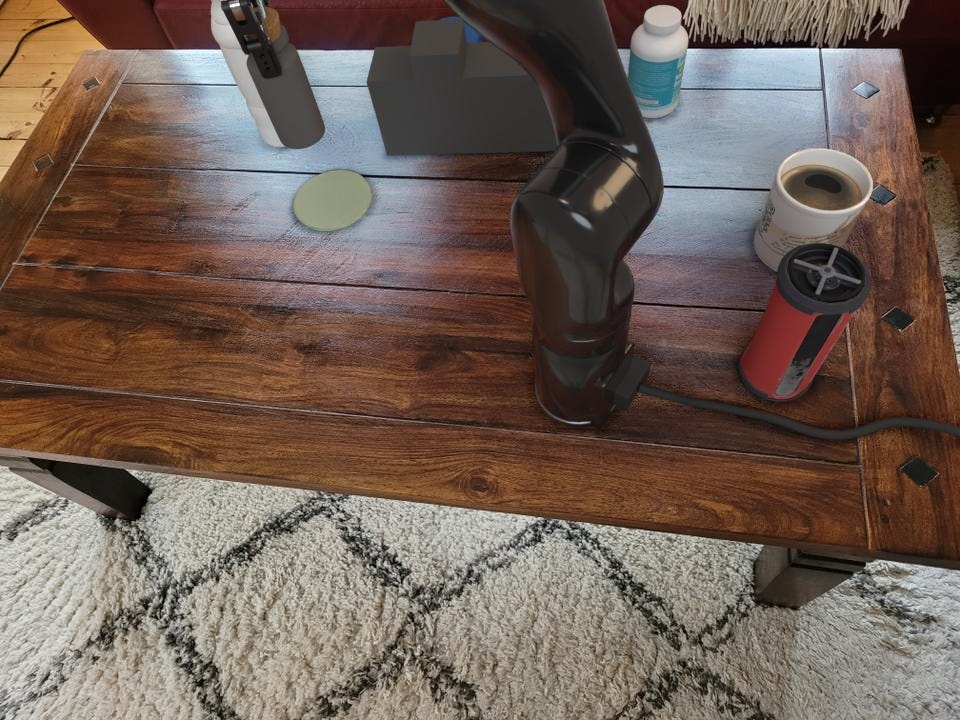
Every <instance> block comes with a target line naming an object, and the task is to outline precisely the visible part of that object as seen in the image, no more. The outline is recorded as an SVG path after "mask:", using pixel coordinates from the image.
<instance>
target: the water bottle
mask: <svg viewBox="0 0 960 720" xmlns="http://www.w3.org/2000/svg"><path fill="white" fill-rule="evenodd" d="M221 1H223V0H210V2H211V7H210V15H211V17H210V29H211V34H212V36H213V38H214V41H215V42H216V43H217V44H218V45H219V49H220V51H221V53H222V57H223V58H224V61H225V63H226V66H227V67H228V70H229V72H230V75H231V76H232V78H233V80H234V82H235V84H236V86H237V88H238V90H239V91H240V94H241V95H242V97H243V99H244V100H245V103H246V107H247V109H248V112H249V114H250V115H251V118H252V119H253V120H254V122H255V125H256V126H255V127H256V128H257V131H258V133H259V136H260V137H261V140H262V141H263V142H264V143H265V144H266V145H268V146H270V147H275V148H287V147H286V146H284V145H283V144H282V143H281V141H280V139H279V137H278V135H277V133H276V131H275V129H274V127H273V124H272V122H271V120H270V118H269V115H268V113H267V111H266V109H265V107H264V104H263V102H262V100H261V98H260V95H259V93H258V91H257V89H256V86H255V84H254V82H253V80H252V77H251V75H250V73H249V71H248V68H247V64H246V63H247V58H248V56H249V55H245V54H244V52H243V51H242V49H241V46H240V44H239V42H238V40H237V38H236V36H235V34H234V32H233V30H232V28H231V26H230V24H229V22H228V20H227V18H226V16H225V14H224V12H223V11H222V9H221Z"/></svg>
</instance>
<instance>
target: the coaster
mask: <svg viewBox="0 0 960 720" xmlns="http://www.w3.org/2000/svg"><path fill="white" fill-rule="evenodd" d="M372 200H373V191H372V188H371V185H370V184H369V182H368V180H367V179H366V178H365V177H364V176H363V175H362V174H359V173H357V172H354V171H351V170H348V169H347V170H346V169H334V170H329V171H325V172H322V173H319V174H317V175H315V176H313V177H311V178H310V179H309V180H307V181H305V183H304V184H302V186H301V187H299V189H298V190H297V192H296V194H295V196H294V198H293V205H292V207H293V212H294V214H295V217H296V218H297V220H298V221H299V223H301V224H302V225H303V226H304V227H306V228H308V229H311V230H314V231H319V232H332V231H337V230H341V229H344V228H347V227H349V226H351V225H353V224H354V223H356V222H357V221H358V220H360V219H361V218H362V217H363V216H364V215H365V214H366V212H367V211H368V210H369V208H370V206H371V203H372Z"/></svg>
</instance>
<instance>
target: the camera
mask: <svg viewBox="0 0 960 720" xmlns="http://www.w3.org/2000/svg"><path fill="white" fill-rule="evenodd" d="M371 58H372V59H371V62H370V66H369V70H368V74H367V77H366V81H365V82H366V85H367V89H368V92H369V93H368V94H369V96H370V99H371V103H372V107H373V111H374V113H375V118H376V121H377V124H378V128H379V131H380V135H381V139H382V142H383V146H384V149H385V152H386V156H388V157H389V156H421V155H424V156H425V155H462V154H496V153H498V154H499V153H501V154H502V153H503V154H505V153H506V154H507V153H540V152H541V153H542V152H555V151H556V137H555V133H554V129H553V125H552V122H551V119H550V116H549V113H548V111H547V108H546V106H545V103H544V101H543V99H542V97H541V94H540V92H539V90H538V88H537V86H536V85H535V83H534V81H533V80H532V78H531V77H530V76H529V74H528V73H527V72H526V71H525V70H524V69H523V68H522V67H521V66H520V65H519V64H518V63H516V62H515V61H514V60H513V59H512V58H510V57H509V56H508V55H506V54H505V53H503V52H502V51H501V50H499V49H498V48H497V47H495V46H494V45H492V44H491V43H490V42H488V41H483V37H482V36H480V35H479V34H478V33H477V32H476V31H474V30H473V29H472V28H471V27H470V26H468V25H467V24H466V23H465V22H464V21H463V20H462V19H461V18H460V17H459V16H447V17H444V18H440V19H438V20H419V21H415V24H414V29H413V33H412V38H411V43H410V45H395V46H375V47H374V49H373V54H372V57H371Z"/></svg>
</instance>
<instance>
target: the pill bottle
mask: <svg viewBox="0 0 960 720" xmlns="http://www.w3.org/2000/svg"><path fill="white" fill-rule="evenodd" d="M688 47H689V34H688V32H687V29H686V28H685V27H684V26H683V25H682V12H681V10H679V8H677V7H675V6H673V5H668V4H667V5H666V4H659V5H654V6H652V7H650V8H648V9H647V10H646V11H645V13H644V15H643V23H641V24H640V25H639V26H638V27H637V28H636V29H635V30H634V31H633V34H632V36H631V38H630V49H629V59H628V70H627V77H628V80H629V82H630V85H631V88H632V90H633V93H634V95H635V98H636V100H637V103H638V106H639V108H640V111H641V113H642V116H643V118H644V119H645V118H646V119H657V118H658V119H659V118H663V117H665V116H667V115H669V114H671V113H672V112H674V110H675V109H676V108H677V106H678V103H679V99H680V93H681V89H682V82H683V76H684V70H685V65H686V58H687V52H688Z"/></svg>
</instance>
